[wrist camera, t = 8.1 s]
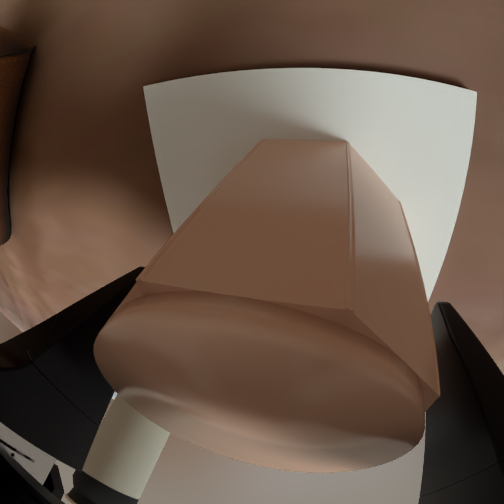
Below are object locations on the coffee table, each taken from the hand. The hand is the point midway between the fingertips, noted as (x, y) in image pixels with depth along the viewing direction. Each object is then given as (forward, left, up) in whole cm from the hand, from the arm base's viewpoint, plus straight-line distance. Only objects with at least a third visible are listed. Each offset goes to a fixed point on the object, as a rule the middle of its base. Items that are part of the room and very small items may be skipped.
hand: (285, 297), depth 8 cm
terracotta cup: (0, 0, -4) cm, 4 cm away
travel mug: (+18, +27, -5) cm, 33 cm away
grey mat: (0, 0, -4) cm, 4 cm away
